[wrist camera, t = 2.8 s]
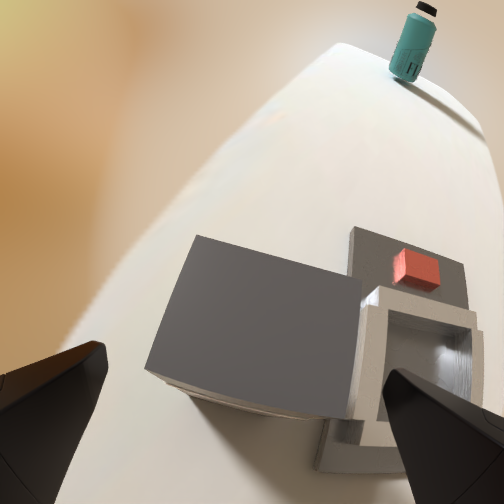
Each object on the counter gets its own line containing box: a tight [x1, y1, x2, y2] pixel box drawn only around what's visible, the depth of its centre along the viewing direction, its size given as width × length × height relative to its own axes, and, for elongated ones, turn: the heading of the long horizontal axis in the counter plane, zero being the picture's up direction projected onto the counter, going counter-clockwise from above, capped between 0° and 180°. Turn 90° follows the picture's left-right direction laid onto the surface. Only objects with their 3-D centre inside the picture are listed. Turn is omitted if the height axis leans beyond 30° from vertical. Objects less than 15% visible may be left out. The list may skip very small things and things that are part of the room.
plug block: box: [144, 235, 362, 420], centre depth 12 cm, size 4×5×11 cm
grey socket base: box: [313, 226, 484, 474], centre depth 17 cm, size 18×12×3 cm, turn 166°
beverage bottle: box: [389, 1, 437, 82], centre depth 39 cm, size 6×7×20 cm
